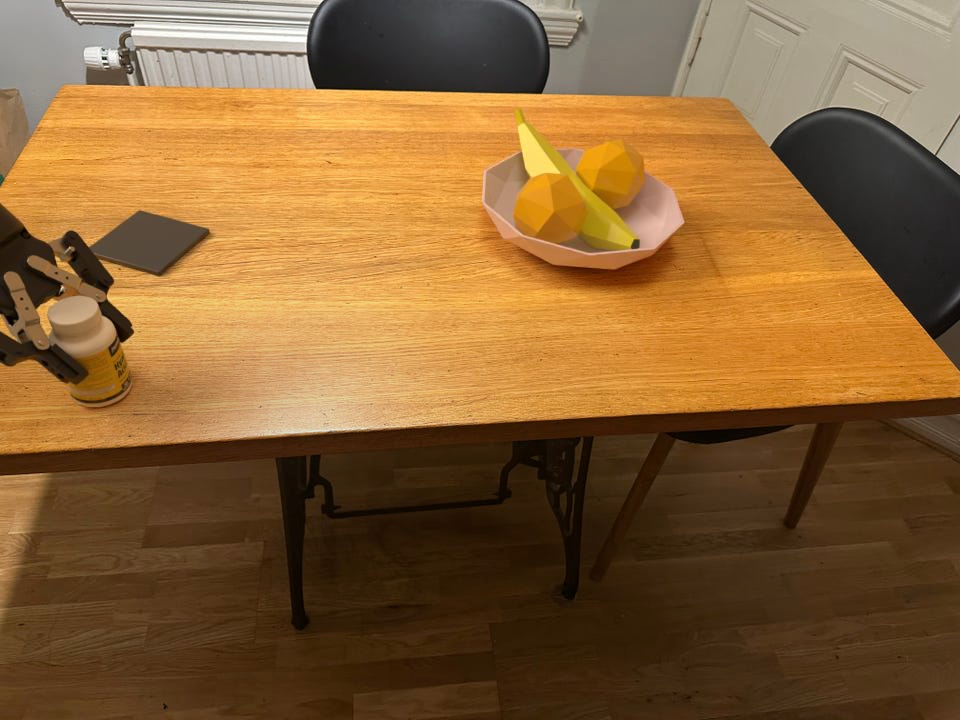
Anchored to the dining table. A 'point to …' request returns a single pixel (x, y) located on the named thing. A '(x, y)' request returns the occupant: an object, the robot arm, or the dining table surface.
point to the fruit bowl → (579, 202)
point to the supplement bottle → (90, 350)
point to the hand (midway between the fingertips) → (106, 357)
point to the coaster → (148, 242)
